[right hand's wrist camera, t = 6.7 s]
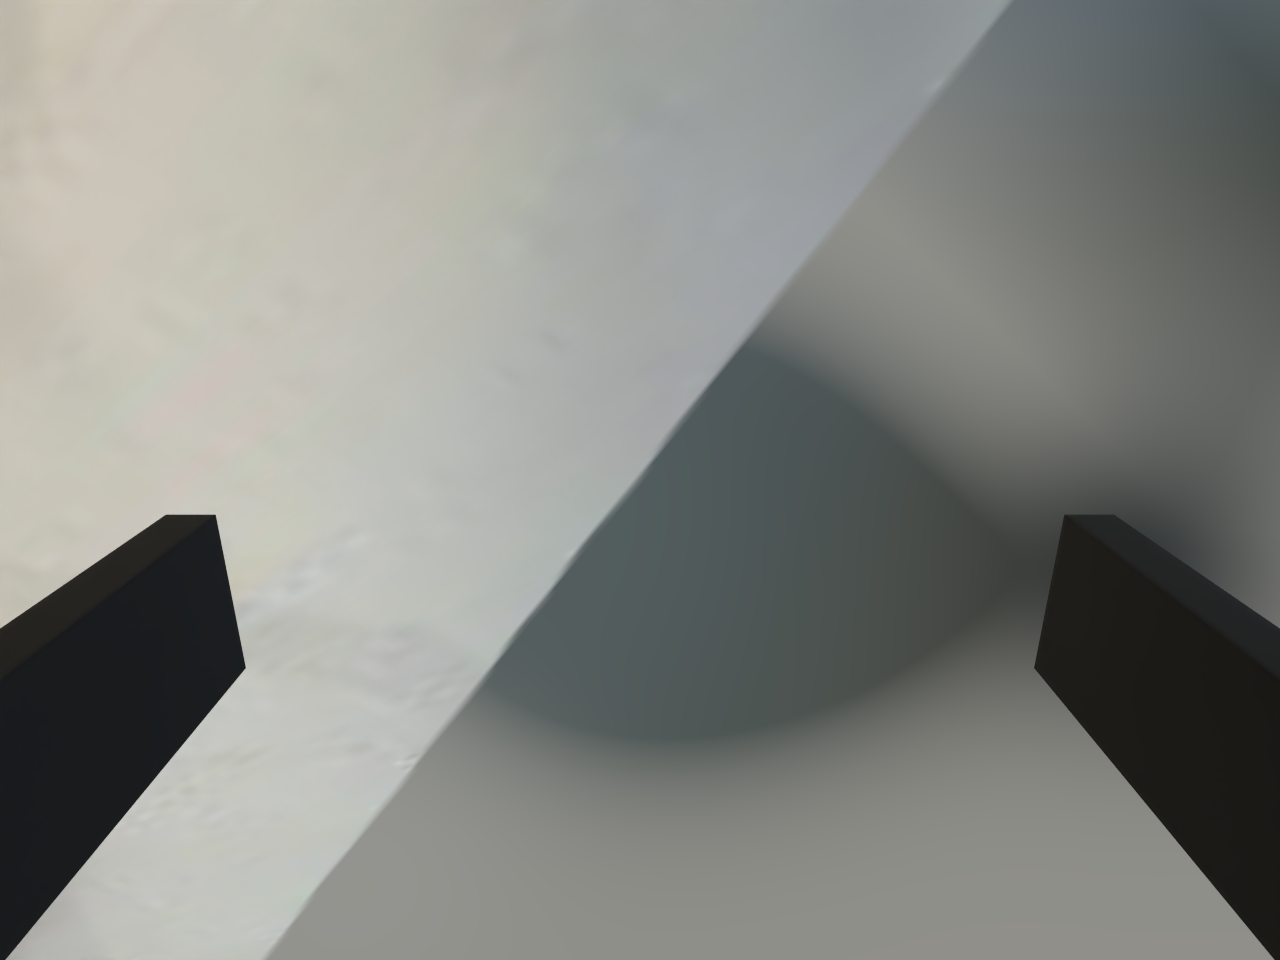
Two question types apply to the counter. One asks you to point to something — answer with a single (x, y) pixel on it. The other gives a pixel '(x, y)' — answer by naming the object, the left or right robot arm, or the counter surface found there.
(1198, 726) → the right robot arm
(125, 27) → the counter surface
